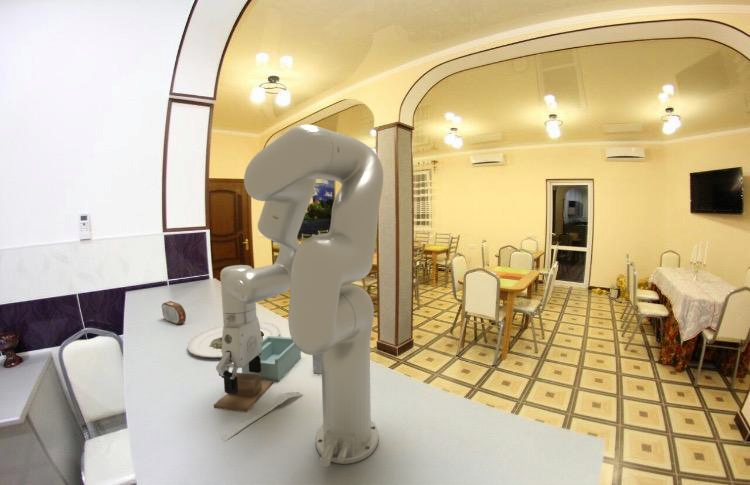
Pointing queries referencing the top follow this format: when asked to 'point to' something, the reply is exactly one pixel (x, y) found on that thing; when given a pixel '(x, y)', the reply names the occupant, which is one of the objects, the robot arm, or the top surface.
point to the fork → (236, 429)
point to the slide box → (276, 358)
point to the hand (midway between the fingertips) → (244, 381)
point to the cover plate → (244, 393)
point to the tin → (173, 312)
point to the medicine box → (317, 363)
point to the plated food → (219, 340)
